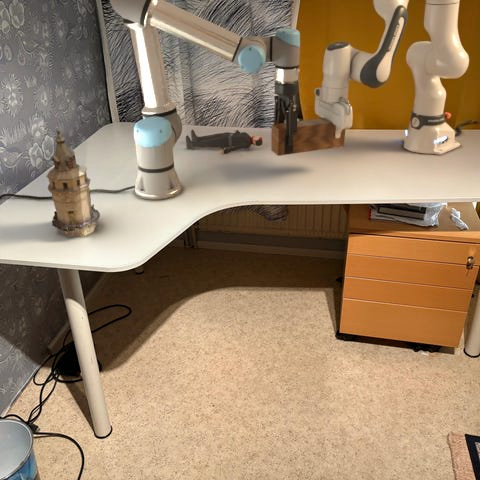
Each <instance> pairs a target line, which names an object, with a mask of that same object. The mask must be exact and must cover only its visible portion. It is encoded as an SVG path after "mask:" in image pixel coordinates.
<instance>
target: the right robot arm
mask: <svg viewBox="0 0 480 480" xmlns="http://www.w3.org/2000/svg"><path fill="white" fill-rule="evenodd" d="M409 1H410V0H372V4H373V8H374V10H375V12H376V13H377V14H378V15H379V17H381V18H382V19H383V20H384V24H385V28H384V31H383V34H382V37H381V39H380V41H379V45H378V48H377V50H376V51H375V52H374V53H369V52H367V51H362V50H359V49H358V48H355V47H353V46H352V45H351V44H350V43H349V42H347V41H336V42H332V43H330V44H328V45H327V46H326V48H325V51H324V55H323V62H322V76H323V78H322V82H321V87H316V88H314V96H315V97H314V113H315V115H317V117H320V118H325V119H327V120H329V121H331V122H332V123H333V124H334V125H336V131H335V132H334V137H335V138H340V135H341V132H342V130H343V129H345V130H348V129H351V128H352V126H353V118H354V117H353V107H352V105H351V103H350V101H349V100H348V99H349V88H350V87H349V86H350V81H353V82H355V83H359V84H362V85H364V86H366V87H368V88H371V89H379V88H380V87H382V86H384V85H385V84H386V82H387V81H389V78H390V77H391V75H392V74H391V73H392V69H393V63H394V60H395V57H396V54H397V52H398V49H399V46H400V43H401V41H402V39H403V35H404V33H405V29H406V26H407V23H408V19H409V11H408V5H409ZM459 11H460V0H425V6H424V16H423V28H424V30H425V31H426V32H427V33H428V36H429V38H430V41H429V40H424V41H416V42H414V43H412V44H411V45H410V46H409V47H408V49H407V51H406V55H405V61H406V62H405V63H406V64H407V66H408V68H409V70H411V74H412V77H413V83H414V100H413V107H412V110H411V112H410V118H409V120H410V122H409V124H408V128H407V129H405V138H404V139H403V145H402V146H403V148H404V149H406V150H408V151H410V152H413V153H417V154H428V155H429V154H431V155H439V156H441V155H443V154H446V153H448V152H450V151H453V150H455V149H457V148H459V147H460V146H461V144H460V143H459V142H458V141H457V140H455V138H456V137H458V136H460V135H461V134H462V133H463V131H462V129H461V127H462V126H465V125H467V124H469V123H473V122H472V119H469V120H466V121H464V122H461V123H459V125H457V128H456V129H457V131H458V132H456V131H455V130H454V129H453V127H451V126H450V124H448V123H447V122H446V119H450V118H451V117H452V114H451V113H450V112H444V110H445V104H446V99H447V91H446V88H445V87H444V86H443V84H442V82H441V79H447V80H448V79H450V80H452V79H458V78H461V77H462V76H463V75H464V74H465V73H466V72H467V70H468V68H469V64H470V56H469V53H468V52H466V50H465V49H464V46H463V45H462V41H461V39H460V35H459V34H460V33H459V28H458V25H459V24H458V23H459V21H458V20H459ZM474 123H475V124H479V122H478V120H477V121H475V122H474Z"/></svg>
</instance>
